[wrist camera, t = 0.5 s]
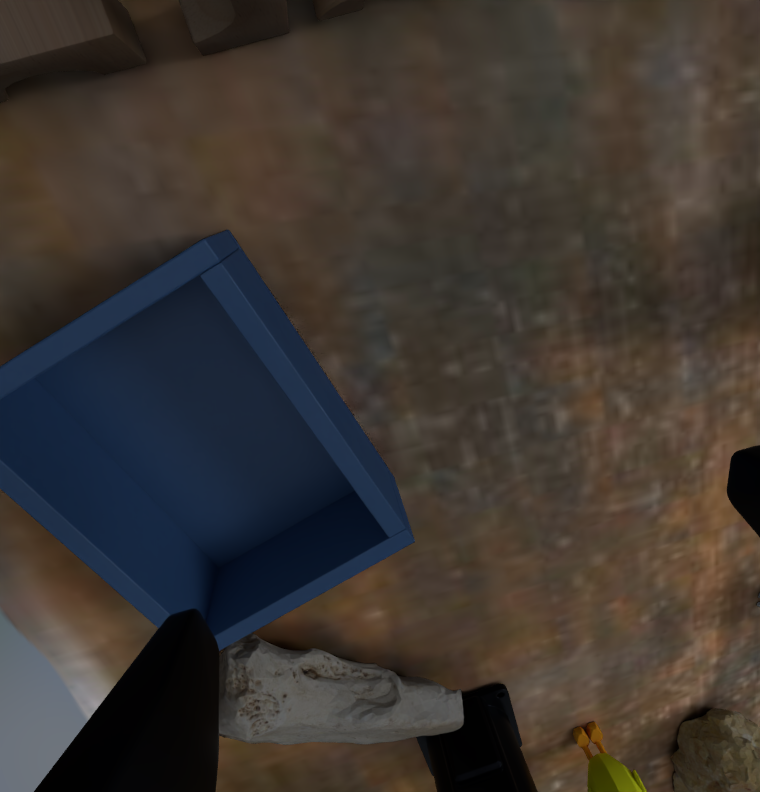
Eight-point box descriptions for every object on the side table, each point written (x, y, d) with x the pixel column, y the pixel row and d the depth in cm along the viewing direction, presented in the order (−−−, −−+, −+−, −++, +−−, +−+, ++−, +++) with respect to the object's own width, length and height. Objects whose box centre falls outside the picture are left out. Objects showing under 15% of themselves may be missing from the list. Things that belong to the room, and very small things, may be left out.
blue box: (394, 477, 24) (415, 541, 20) (217, 578, 25) (197, 663, 20) (228, 228, 19) (203, 237, 14) (9, 366, 20) (-82, 417, 15)
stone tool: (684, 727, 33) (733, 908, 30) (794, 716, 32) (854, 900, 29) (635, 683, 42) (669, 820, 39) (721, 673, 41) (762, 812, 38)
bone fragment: (203, 688, 28) (186, 777, 23) (237, 604, 26) (225, 683, 21) (414, 717, 31) (432, 798, 27) (456, 645, 29) (483, 720, 25)
